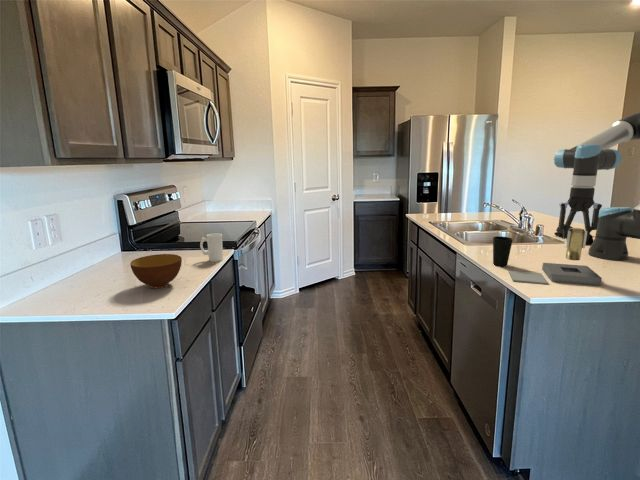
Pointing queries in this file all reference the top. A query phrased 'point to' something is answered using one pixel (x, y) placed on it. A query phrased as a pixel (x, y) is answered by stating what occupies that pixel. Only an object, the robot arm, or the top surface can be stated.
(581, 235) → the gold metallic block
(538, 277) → the mat
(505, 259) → the cup
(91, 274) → the top surface
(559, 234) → the black flashlight
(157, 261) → the bowl
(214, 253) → the mug
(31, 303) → the top surface
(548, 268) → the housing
